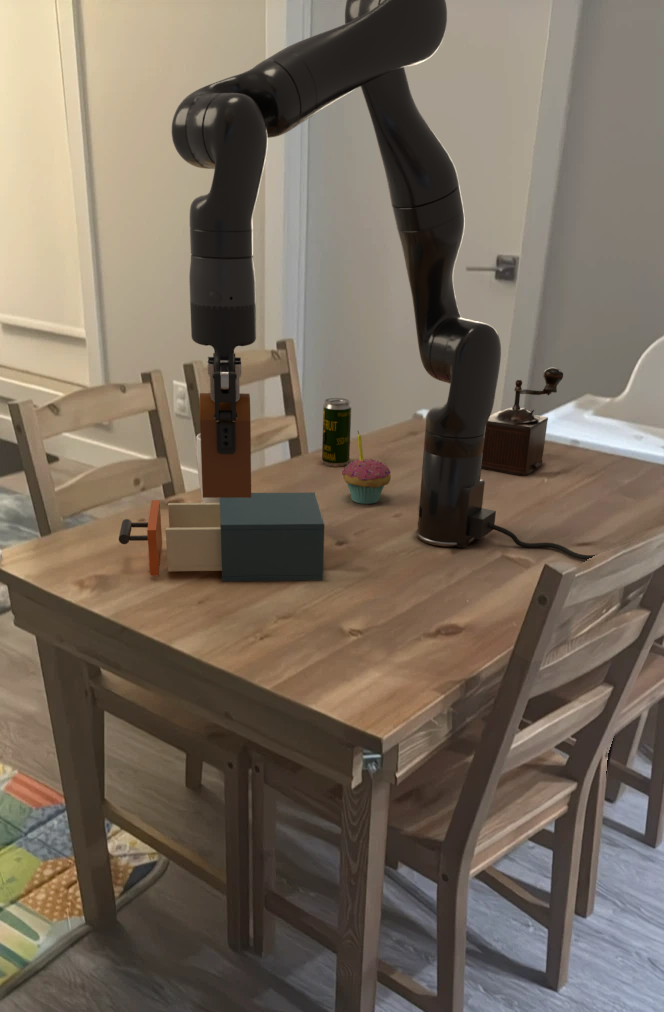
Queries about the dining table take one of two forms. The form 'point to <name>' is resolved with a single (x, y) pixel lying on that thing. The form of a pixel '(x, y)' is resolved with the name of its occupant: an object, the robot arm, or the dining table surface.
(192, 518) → the drawer
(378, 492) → the cupcake
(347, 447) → the green drink can
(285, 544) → the cabinet
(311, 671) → the dining table surface
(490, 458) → the manual coffee grinder
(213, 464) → the bread
